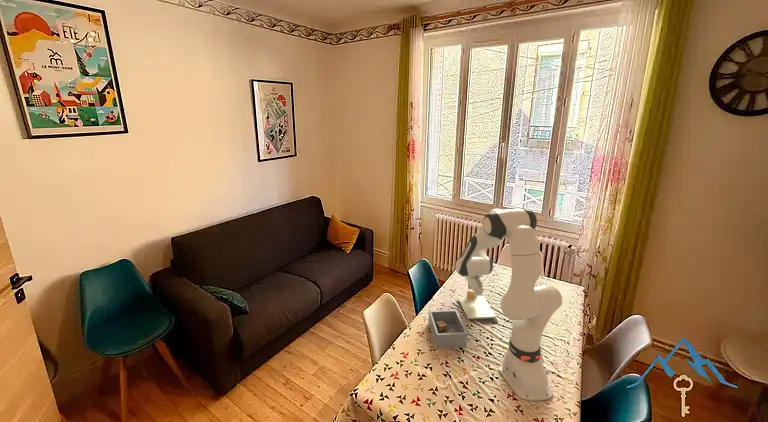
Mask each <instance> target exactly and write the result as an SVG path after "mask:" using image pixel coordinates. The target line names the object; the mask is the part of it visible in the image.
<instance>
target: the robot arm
mask: <svg viewBox="0 0 768 422" xmlns="http://www.w3.org/2000/svg"><path fill="white" fill-rule="evenodd" d="M537 225H538V220H537V216H536V214H535V213H534V211H533V210H531V209H530V208H519V209H518V208H517V209H515V208H513V209H500V208H494V209H490V211H489V212H488V213H486V214H485V215H484V217H483V221H482V225H481V228H480V229H479V230H478V231H477V232H476V233H475V234H474V235H473V236H471V237H470V238H469V239H468V241H467V244H466V245H465V247H464V248H463V251H462V252H461V254H460V256H459V257H458V258H457V259H456V262H455V270H456V273H457V274H459V275H460V276H461V277H465V280H466V282H467V289H468V290H471V291H474V295H473V297H474V299H477V297H478V296H482V295H483V290H484V285H483V283H484V282H483V281H482V279H481V278H482V277H483V276H489V275H490V274H491V272H493V270H494V262H493V259H492V258H491V257H489V256H488V255H487V253H486V250H487V249H493V248H495V247H498V246H499V245H501V244H502V243H503V241H504V239H506V240H507V241H508V246H509V255H510V256H509V257H510V264H511V276H512V278H510V283H509V285H508V286H509V287H508V289H507V291H506V292H505V293H504V295H503V296H502V298H501V300H500V309H501V311H502V314H503V315H504V316H505V317H506V318H507V319H508V320H510V321H513V324H512V328H511V335H510V338H509V340H508V349H507V350H506V352H505V354H504V357H503V360H502V363H501V365H500V366H499V368H498V372H499V374H500V375H501V376H502V378H503V379H504V380H505V381H506V382H507V383H508V385H509V386H510V387H511V389H512V391H514V393H515V394H516V395H517V397H518V398H519V399H522V400H526V401H533V402H534V401H537V402H538V401H546V400H549V399H551V398H553V396H554V392H553V389H552V387H551V385H550V383H549V379H548V376H549V374H550V371H549V369H548V368H545V365H544V359H542V358H543V355H542V347H541V341H542V337H543V332H544V330H545V328H546V326H547V324H548V323H549V321H550V319H551V318H552V316H553V315H554V313H556V312H557V311H558V309H560V308H561V307H562V305H563V296H562V293H561V292H560V291H559V290H558V288H556V287H555V286H554V285H546V284H545V285H544V284H543V285H542V284H540V285H536V282H537V281H538V279H539V278H540V277H541V276H542V273H543V266H542V265H543V264H542V257H541V251H540V250H541V249H540V244H539V240H538V238H537V235H536V234H537V233H536V231H535V230H536V228H537Z"/></svg>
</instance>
